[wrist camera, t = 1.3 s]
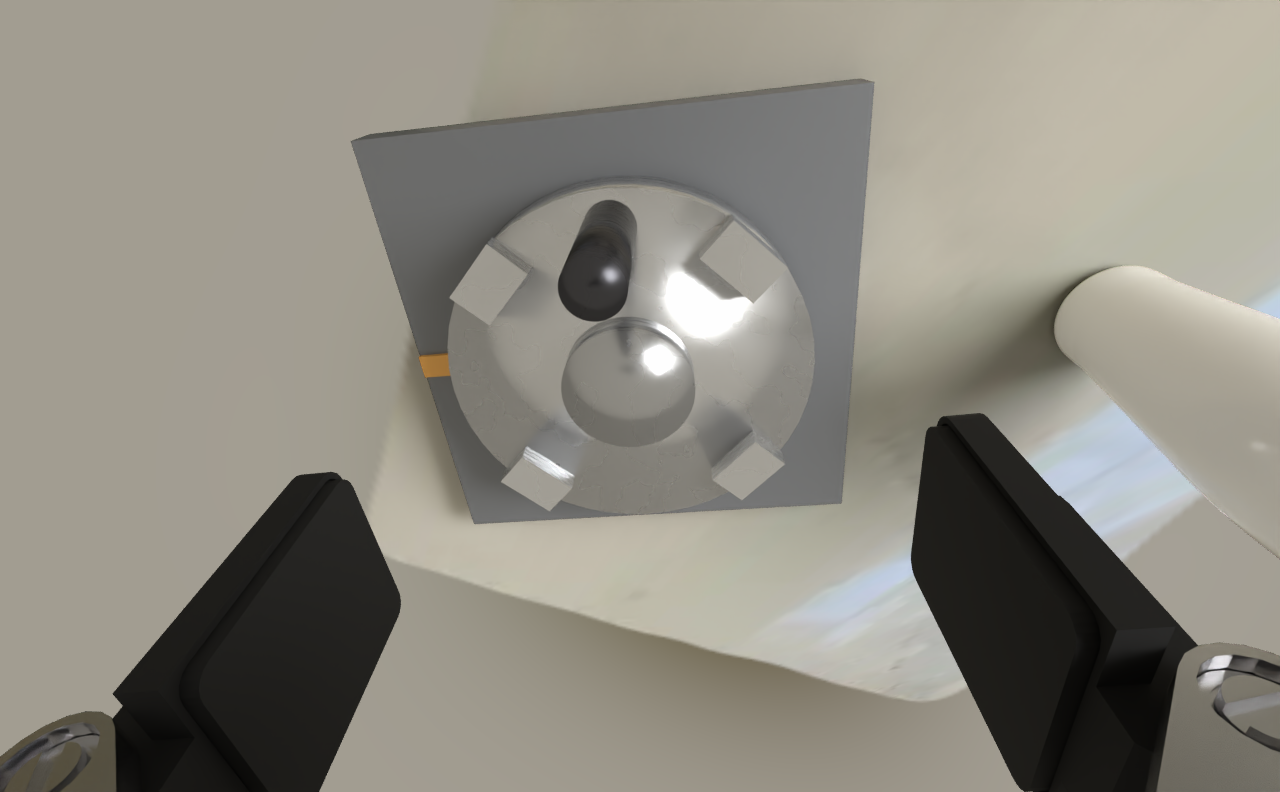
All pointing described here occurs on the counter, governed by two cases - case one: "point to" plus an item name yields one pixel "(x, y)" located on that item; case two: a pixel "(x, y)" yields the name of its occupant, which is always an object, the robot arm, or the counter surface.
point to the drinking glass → (1188, 383)
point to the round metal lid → (631, 348)
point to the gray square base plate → (651, 147)
